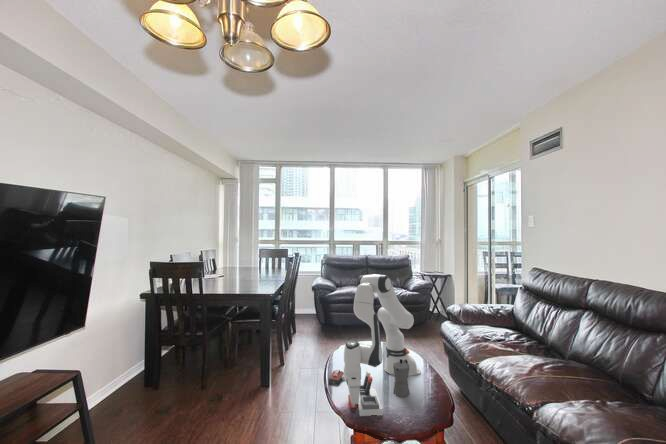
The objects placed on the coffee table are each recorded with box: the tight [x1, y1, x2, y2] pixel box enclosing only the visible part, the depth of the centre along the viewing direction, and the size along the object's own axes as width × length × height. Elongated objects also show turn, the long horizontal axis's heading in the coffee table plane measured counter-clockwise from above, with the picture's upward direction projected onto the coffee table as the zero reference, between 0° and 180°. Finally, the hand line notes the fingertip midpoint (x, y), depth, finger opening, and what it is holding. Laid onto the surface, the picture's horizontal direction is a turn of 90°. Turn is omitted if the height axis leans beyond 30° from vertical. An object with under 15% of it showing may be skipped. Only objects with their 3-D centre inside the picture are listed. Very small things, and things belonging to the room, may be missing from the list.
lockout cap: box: [347, 394, 358, 409], centre depth 151 cm, size 4×4×4 cm
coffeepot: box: [393, 359, 411, 398], centre depth 165 cm, size 15×9×18 cm, turn 146°
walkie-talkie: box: [328, 369, 345, 385], centre depth 181 cm, size 9×4×20 cm
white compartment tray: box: [357, 384, 383, 417], centre depth 153 cm, size 11×19×5 cm, turn 3°
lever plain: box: [362, 370, 371, 389], centre depth 160 cm, size 2×3×10 cm
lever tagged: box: [364, 375, 374, 395], centre depth 154 cm, size 2×3×10 cm
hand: (352, 402), depth 151 cm, fingers closed on lockout cap, 4 cm apart
